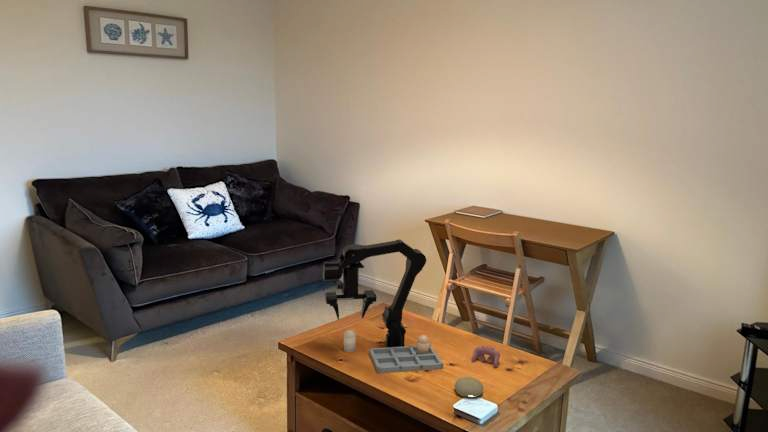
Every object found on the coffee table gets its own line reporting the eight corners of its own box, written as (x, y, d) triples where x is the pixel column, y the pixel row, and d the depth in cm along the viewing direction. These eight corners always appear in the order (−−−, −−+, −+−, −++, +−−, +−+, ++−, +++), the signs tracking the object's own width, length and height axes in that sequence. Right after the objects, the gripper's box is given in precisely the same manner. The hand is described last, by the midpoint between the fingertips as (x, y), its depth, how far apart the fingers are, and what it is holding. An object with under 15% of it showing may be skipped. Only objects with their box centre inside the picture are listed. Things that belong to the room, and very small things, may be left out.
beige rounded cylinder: (426, 351, 224) (427, 332, 223) (430, 357, 220) (431, 337, 218) (414, 352, 223) (415, 333, 222) (418, 357, 219) (419, 338, 217)
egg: (354, 346, 228) (355, 327, 226) (356, 351, 223) (356, 332, 222) (342, 347, 227) (343, 328, 225) (344, 352, 222) (344, 333, 221)
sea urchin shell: (479, 397, 189) (463, 376, 191) (462, 408, 193) (447, 387, 195) (489, 386, 197) (475, 366, 198) (473, 396, 201) (459, 376, 202)
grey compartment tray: (430, 350, 227) (430, 344, 226) (443, 369, 211) (443, 363, 211) (369, 354, 222) (369, 348, 221) (377, 374, 206) (378, 368, 206)
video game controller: (498, 368, 217) (502, 349, 218) (496, 368, 213) (499, 348, 214) (472, 362, 221) (476, 344, 222) (470, 362, 217) (473, 343, 218)
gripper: (371, 271, 229) (370, 309, 232) (323, 273, 225) (323, 312, 228) (377, 280, 218) (376, 320, 222) (326, 282, 214) (326, 323, 218)
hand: (350, 318), depth 223 cm, fingers open, 9 cm apart
